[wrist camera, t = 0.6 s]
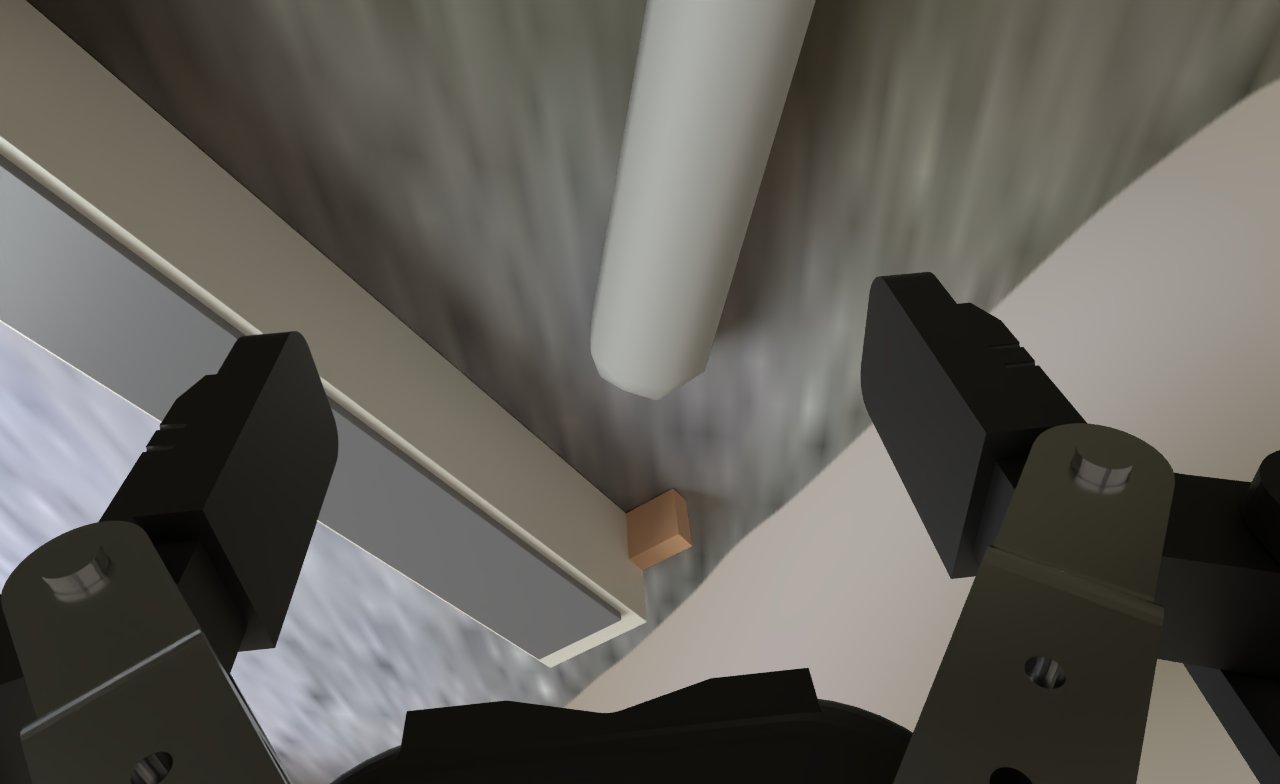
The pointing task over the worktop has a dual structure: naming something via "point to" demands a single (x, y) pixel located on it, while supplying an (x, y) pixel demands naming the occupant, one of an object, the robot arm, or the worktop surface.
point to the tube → (688, 181)
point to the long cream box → (336, 335)
